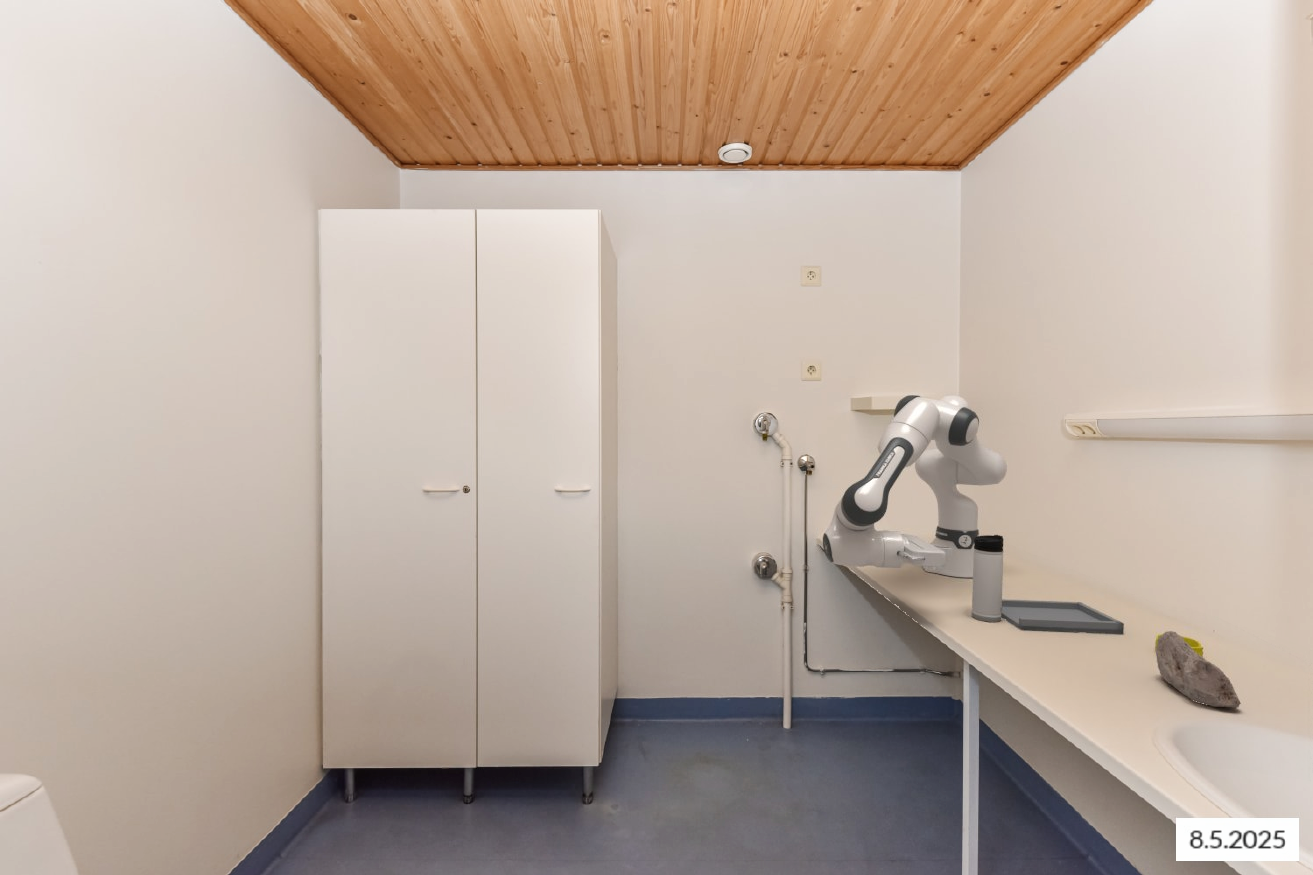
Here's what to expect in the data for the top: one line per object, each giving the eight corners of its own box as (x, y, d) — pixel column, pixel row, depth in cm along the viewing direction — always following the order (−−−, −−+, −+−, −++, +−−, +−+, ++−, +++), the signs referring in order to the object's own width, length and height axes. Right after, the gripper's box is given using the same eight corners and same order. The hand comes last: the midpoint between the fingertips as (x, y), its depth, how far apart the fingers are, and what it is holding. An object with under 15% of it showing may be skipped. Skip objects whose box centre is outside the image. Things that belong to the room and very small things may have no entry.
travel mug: (1008, 621, 145) (1011, 537, 144) (986, 623, 143) (988, 538, 142) (987, 613, 151) (989, 533, 150) (965, 615, 149) (968, 534, 148)
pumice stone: (1246, 715, 99) (1248, 655, 99) (1189, 708, 101) (1192, 649, 101) (1195, 678, 113) (1197, 625, 113) (1146, 672, 116) (1148, 621, 115)
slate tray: (988, 608, 154) (989, 598, 154) (1079, 612, 153) (1080, 602, 153) (1021, 630, 139) (1021, 619, 138) (1123, 634, 137) (1123, 623, 137)
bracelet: (1159, 659, 123) (1159, 642, 123) (1151, 646, 130) (1152, 631, 130) (1207, 666, 119) (1207, 650, 119) (1196, 653, 126) (1196, 637, 126)
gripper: (906, 545, 138) (969, 547, 137) (880, 529, 158) (935, 530, 157) (905, 572, 138) (968, 574, 137) (879, 553, 158) (934, 554, 157)
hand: (950, 551), depth 147 cm, fingers closed
